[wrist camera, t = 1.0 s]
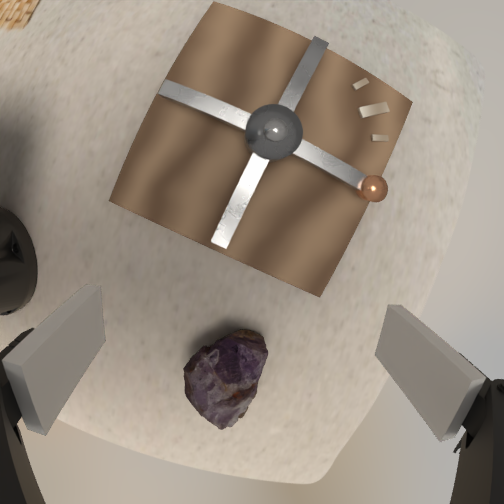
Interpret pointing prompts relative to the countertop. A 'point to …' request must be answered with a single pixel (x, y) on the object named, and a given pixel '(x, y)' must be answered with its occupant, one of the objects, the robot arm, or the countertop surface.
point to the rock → (225, 377)
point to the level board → (237, 156)
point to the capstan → (273, 140)
